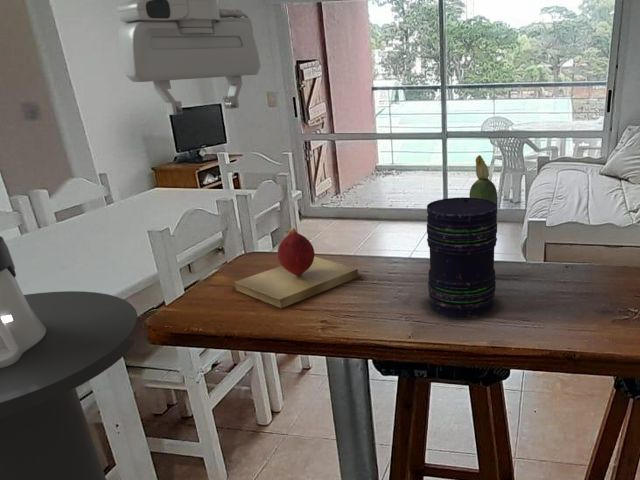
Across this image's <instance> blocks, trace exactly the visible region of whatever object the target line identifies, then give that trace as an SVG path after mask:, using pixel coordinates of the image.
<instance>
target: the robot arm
mask: <svg viewBox="0 0 640 480" xmlns="http://www.w3.org/2000/svg"><path fill="white" fill-rule="evenodd" d="M116 13H117V17H118V19H119V21H120V22H122V23H124V24H122V25H121V27H120V28H119V30H118V45H119V53H120V59H121V64H122V69H123V72H124V74H125V76H126V77H127V78H128V79H129V80H130V81H131V82H133V83H148V82H149V83H150V82H152V83H153V87H154V91H155V92H156V93H157V94H158V95H159V97H160V98H161V99H162V101H163V102H165V107H166V112H167V114H168V115H170V116H177V115H183V113H184V110H183V108H182V106H183V105H182V101H181V100H175V98H174V97H173V95H172V94H171V93H170V91H169V90H171V89H172V86H171V81H180V80H195V79H211V78H225V81H226V84H227V85H229V89H228V92H227V95H225V96H223V97H222V98H223V102H224V104H223V105H224V108H225V109H228V110H230V109H231V110H232V109H233V110H234V109H239V107H240V104H239V95H240V92H241V89H242V86H243V80H242V77H243V76H256V75H258V74H259V72H260V70H261V61H260V55H259V50H258V46H257V43H256V40H255V36H254V30H253V29H254V28H253V22H252V20H251V18H250V17H249V16H248V14H246V13H245V12H243V11H242V10H241V9H237V8H235V9H227V8H220V6H219V0H129V1H126V2H123V3H121V4H118V5H117V7H116ZM15 270H16V267H15V263H14V261H13V257H12V255H11V252H10V250H9V247H8V245H7V243H6V241H5V240H4V238H3V237H2V236H0V368H3V367H7V366H10V365H12V364H14V363H15V362H17V361H18V359H19V358H20V357H21V356H22V354H23V353H24V352H25V351H27V350H28V349H29V348H31V347H33V346H34V345H35V344H37V343H38V342H39V341H40V340H41V339H42V338H43V337H44V336H45V334H46V328H45V326H44V325H43V324H42V323H41V322H40V320H39V319H38V317H37V316H36V315H35V313H34V312H33V310H32V309H31V307H30V305H29V304H28V302H27V300H26V299H25V297H24V295H25V294H24V293H23V291H22V289H21V287H20V285H19V283H18V281H17V279H16V277H17V274H16V271H15Z"/></svg>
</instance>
